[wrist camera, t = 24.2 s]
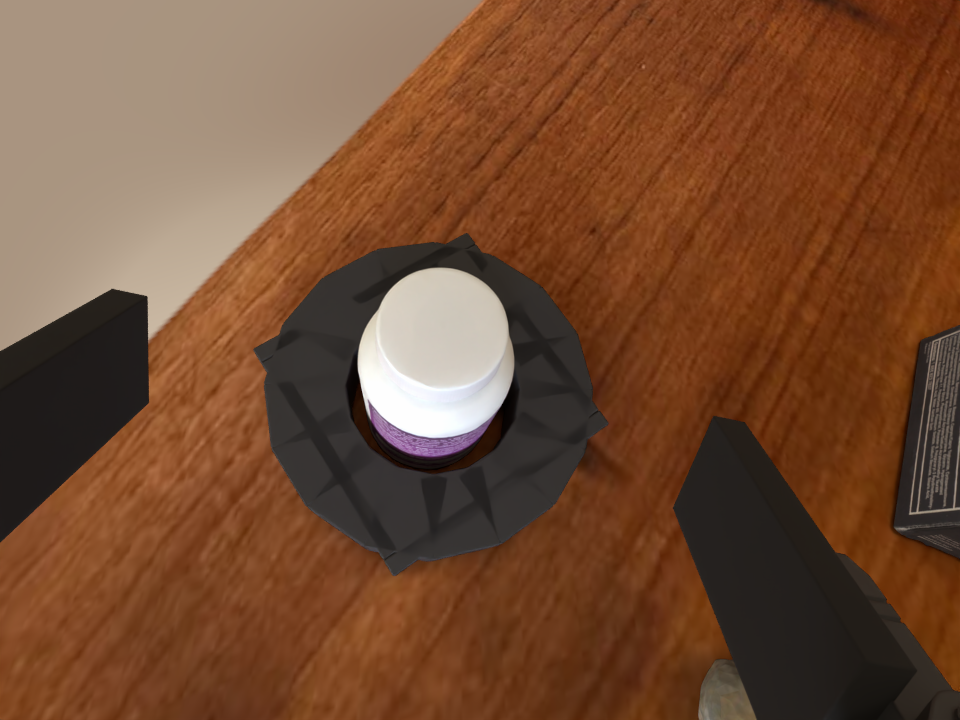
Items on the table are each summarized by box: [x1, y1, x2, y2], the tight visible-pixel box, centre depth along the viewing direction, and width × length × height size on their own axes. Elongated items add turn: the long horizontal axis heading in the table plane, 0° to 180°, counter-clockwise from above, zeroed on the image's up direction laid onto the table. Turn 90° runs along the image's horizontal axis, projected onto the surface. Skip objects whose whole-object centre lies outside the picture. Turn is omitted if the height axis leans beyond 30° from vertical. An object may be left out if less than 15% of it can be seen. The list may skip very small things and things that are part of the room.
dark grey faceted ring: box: [253, 233, 609, 576], centre depth 26 cm, size 12×12×4 cm
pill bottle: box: [358, 268, 514, 469], centre depth 23 cm, size 5×5×10 cm
